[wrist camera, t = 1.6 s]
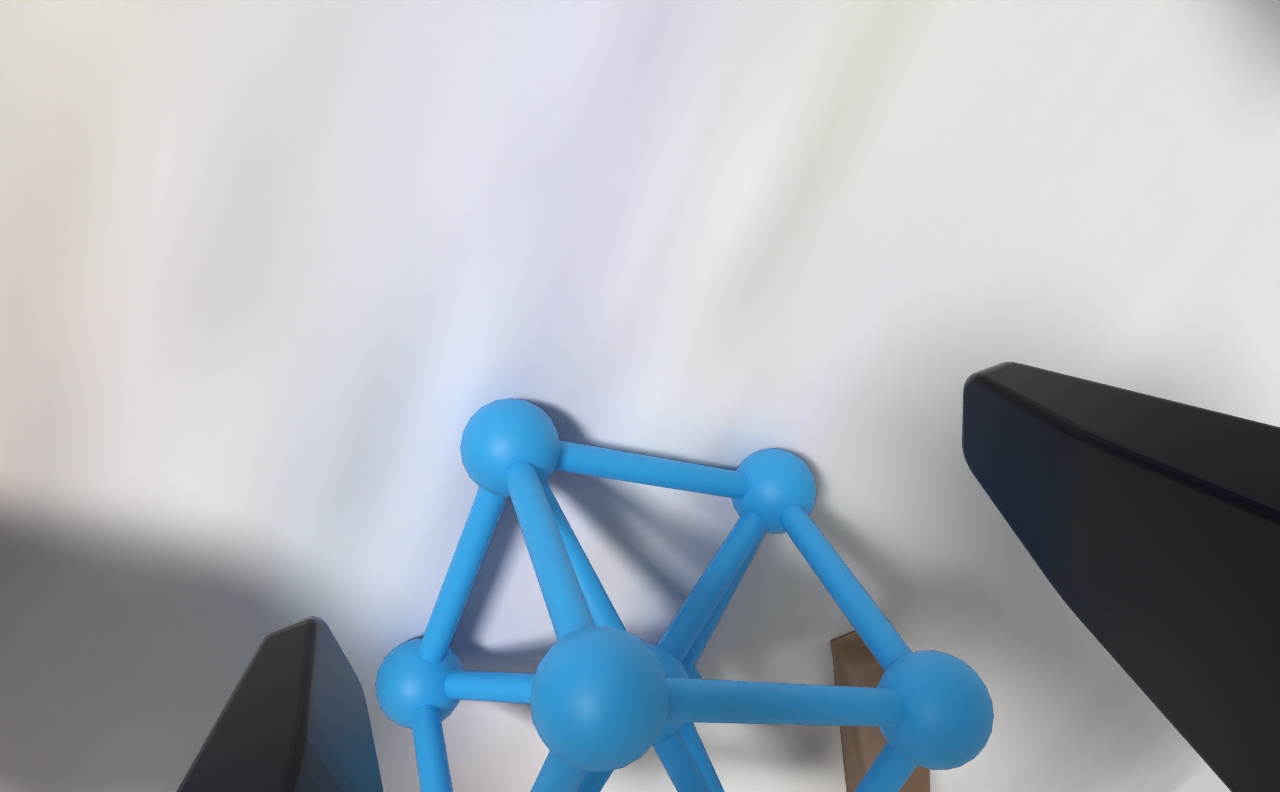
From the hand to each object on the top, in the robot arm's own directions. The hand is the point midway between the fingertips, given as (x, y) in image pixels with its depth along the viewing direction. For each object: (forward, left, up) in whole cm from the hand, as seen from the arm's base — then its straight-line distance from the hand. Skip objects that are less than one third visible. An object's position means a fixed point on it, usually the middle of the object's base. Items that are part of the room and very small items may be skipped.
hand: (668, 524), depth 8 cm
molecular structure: (0, -12, -13) cm, 18 cm away
